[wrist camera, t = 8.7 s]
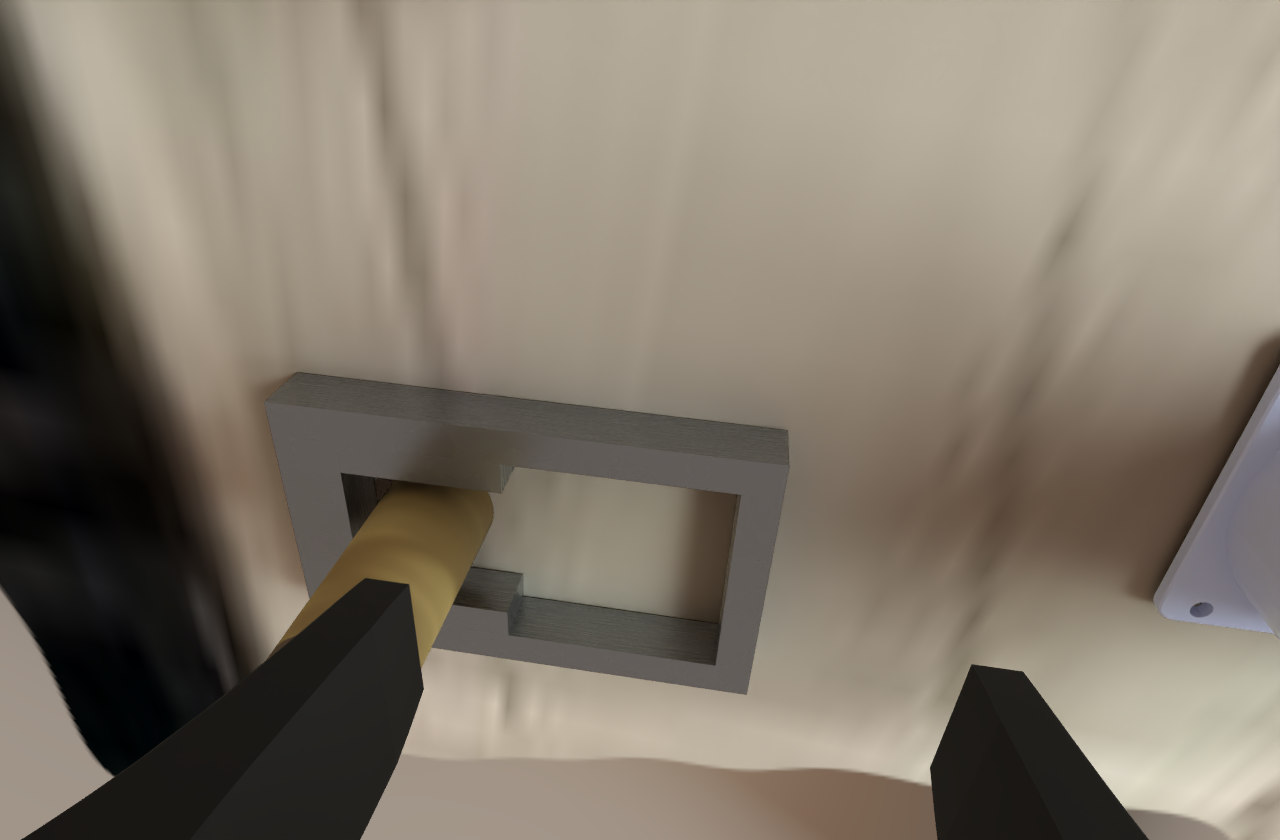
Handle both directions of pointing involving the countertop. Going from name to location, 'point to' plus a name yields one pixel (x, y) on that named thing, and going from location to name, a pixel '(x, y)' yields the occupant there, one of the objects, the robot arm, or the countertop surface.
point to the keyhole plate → (483, 460)
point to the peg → (410, 553)
